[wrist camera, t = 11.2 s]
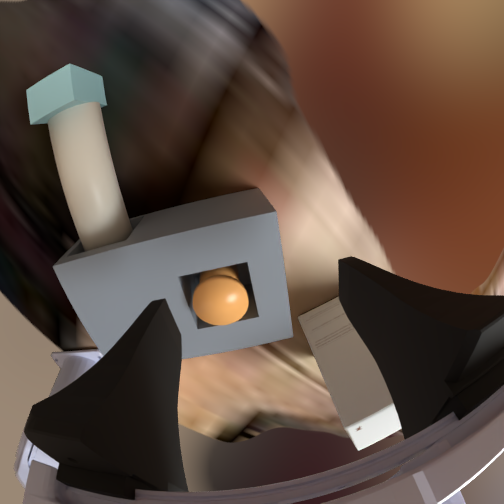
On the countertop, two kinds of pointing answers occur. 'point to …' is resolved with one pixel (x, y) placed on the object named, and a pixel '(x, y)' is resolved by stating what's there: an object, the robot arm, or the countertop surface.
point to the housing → (185, 273)
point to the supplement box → (350, 375)
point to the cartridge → (82, 153)
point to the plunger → (220, 296)
